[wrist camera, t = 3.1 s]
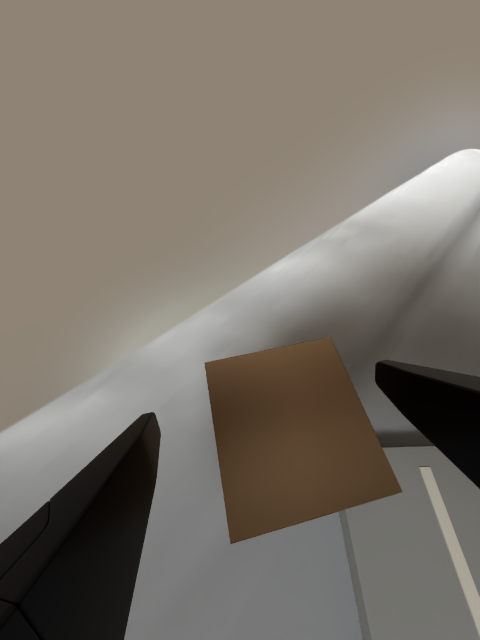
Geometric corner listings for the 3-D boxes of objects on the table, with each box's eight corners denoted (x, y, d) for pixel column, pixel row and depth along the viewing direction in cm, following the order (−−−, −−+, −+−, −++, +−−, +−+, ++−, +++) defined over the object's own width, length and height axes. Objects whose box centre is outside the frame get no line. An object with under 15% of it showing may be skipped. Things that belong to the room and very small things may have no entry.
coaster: (623, 724, 9) (667, 756, 8) (382, 737, 9) (398, 771, 8) (482, 444, 14) (500, 444, 13) (327, 448, 14) (333, 448, 13)
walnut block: (307, 466, 13) (403, 492, 6) (235, 485, 13) (231, 543, 5) (284, 392, 16) (330, 336, 8) (222, 406, 15) (204, 362, 7)
